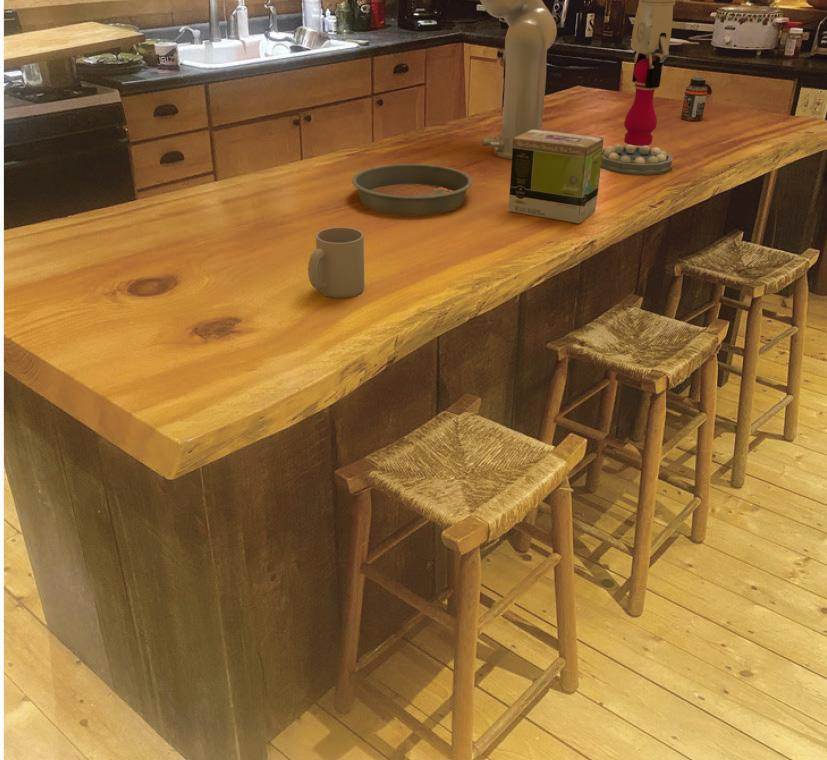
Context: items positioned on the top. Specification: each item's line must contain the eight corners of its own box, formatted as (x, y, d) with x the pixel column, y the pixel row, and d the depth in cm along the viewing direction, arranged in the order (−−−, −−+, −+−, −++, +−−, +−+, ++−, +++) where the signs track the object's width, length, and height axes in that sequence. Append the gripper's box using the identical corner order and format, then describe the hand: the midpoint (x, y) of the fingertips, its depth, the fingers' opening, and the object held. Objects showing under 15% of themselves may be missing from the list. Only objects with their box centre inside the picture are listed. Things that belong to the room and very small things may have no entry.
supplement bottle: (676, 117, 242) (683, 77, 236) (694, 116, 243) (701, 76, 238) (688, 122, 237) (695, 80, 231) (706, 121, 238) (713, 79, 233)
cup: (374, 289, 131) (373, 234, 126) (327, 308, 124) (324, 252, 120) (342, 276, 135) (340, 224, 131) (295, 295, 128) (291, 240, 124)
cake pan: (482, 188, 179) (483, 167, 177) (456, 224, 159) (457, 201, 156) (373, 178, 185) (373, 158, 183) (335, 212, 164) (334, 190, 162)
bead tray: (614, 177, 187) (616, 161, 185) (586, 157, 202) (587, 142, 200) (683, 173, 190) (686, 157, 188) (651, 154, 205) (653, 139, 203)
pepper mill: (651, 139, 196) (664, 48, 186) (656, 147, 190) (670, 53, 180) (620, 138, 197) (631, 48, 187) (623, 146, 190) (636, 53, 181)
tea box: (596, 211, 166) (605, 136, 158) (578, 225, 158) (587, 147, 151) (527, 199, 172) (533, 126, 165) (506, 212, 165) (511, 136, 157)
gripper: (624, -7, 185) (614, 78, 194) (659, 0, 170) (646, 92, 179) (656, -7, 186) (644, 77, 195) (693, 0, 171) (678, 91, 180)
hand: (645, 83), depth 187 cm, fingers closed on pepper mill, 6 cm apart
